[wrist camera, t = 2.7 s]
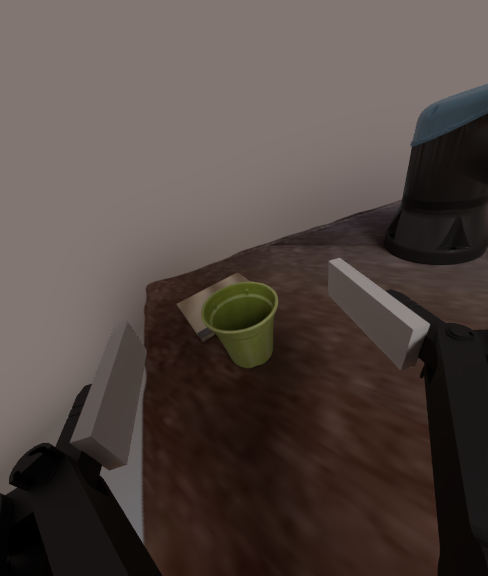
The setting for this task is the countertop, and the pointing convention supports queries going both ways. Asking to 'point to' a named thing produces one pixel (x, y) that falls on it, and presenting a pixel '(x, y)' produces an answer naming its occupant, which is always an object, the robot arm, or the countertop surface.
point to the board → (194, 305)
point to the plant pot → (243, 321)
